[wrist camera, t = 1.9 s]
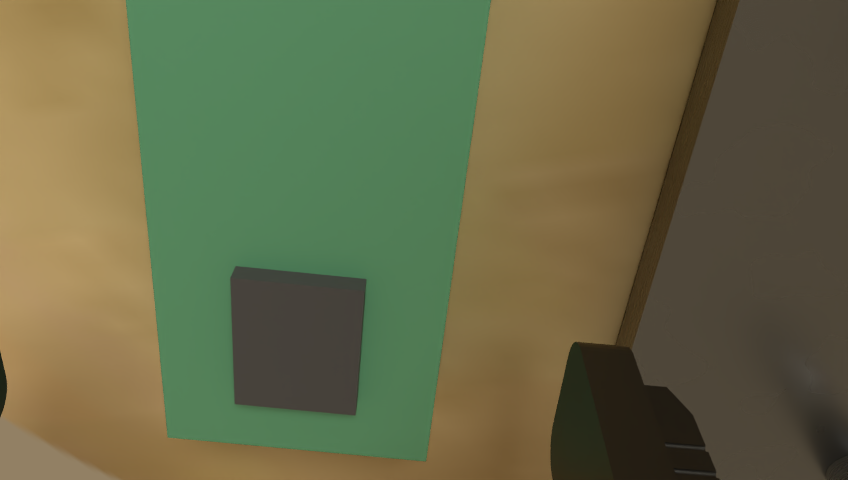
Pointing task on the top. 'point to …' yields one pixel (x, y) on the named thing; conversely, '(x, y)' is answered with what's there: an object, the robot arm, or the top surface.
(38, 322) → the top surface
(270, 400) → the board
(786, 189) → the chassis
